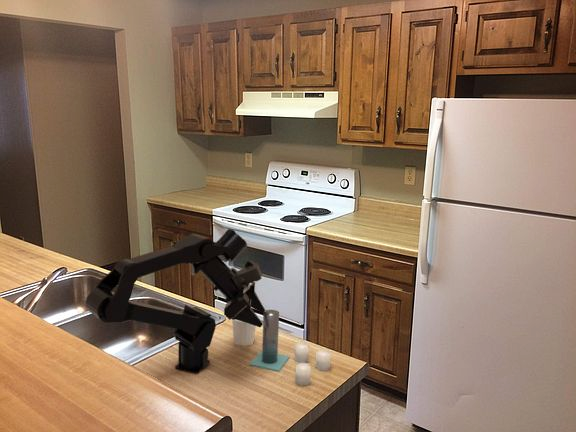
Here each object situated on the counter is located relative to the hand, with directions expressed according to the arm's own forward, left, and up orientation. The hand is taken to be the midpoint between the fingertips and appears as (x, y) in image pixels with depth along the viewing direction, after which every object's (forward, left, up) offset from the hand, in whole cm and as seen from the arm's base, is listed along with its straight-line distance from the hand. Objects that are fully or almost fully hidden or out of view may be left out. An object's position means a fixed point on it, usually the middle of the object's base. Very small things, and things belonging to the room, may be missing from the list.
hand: (262, 318), depth 124 cm
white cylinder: (-9, +9, -12) cm, 17 cm away
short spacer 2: (+13, -5, -12) cm, 18 cm away
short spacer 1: (+9, +5, -12) cm, 16 cm away
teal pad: (+2, +1, -12) cm, 12 cm away
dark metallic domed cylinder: (+2, +1, -11) cm, 12 cm away
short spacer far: (+16, +3, -12) cm, 20 cm away
